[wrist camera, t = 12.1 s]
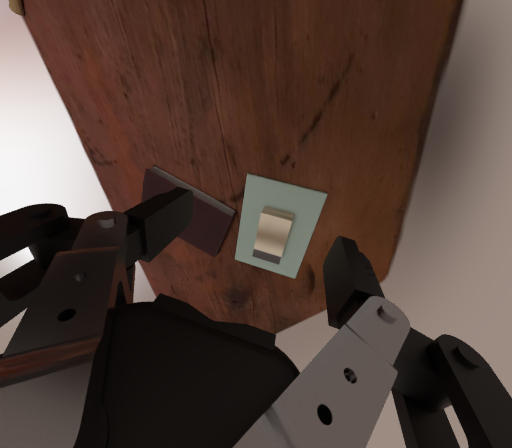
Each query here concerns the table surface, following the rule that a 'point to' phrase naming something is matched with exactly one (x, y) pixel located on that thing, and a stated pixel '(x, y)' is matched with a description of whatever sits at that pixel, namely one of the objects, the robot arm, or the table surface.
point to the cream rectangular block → (272, 234)
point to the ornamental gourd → (16, 6)
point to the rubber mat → (286, 199)
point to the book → (194, 211)
